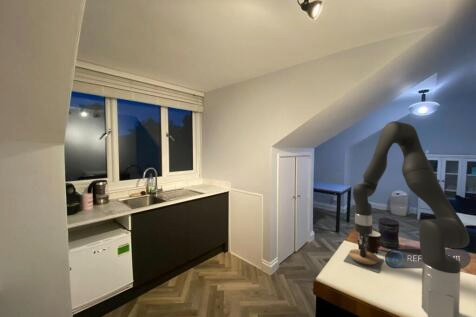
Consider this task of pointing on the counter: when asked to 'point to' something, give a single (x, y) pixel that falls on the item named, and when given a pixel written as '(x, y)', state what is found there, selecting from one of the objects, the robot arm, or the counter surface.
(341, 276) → the counter surface
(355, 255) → the lid
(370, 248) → the coffee mug
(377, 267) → the mat
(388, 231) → the storage jar
